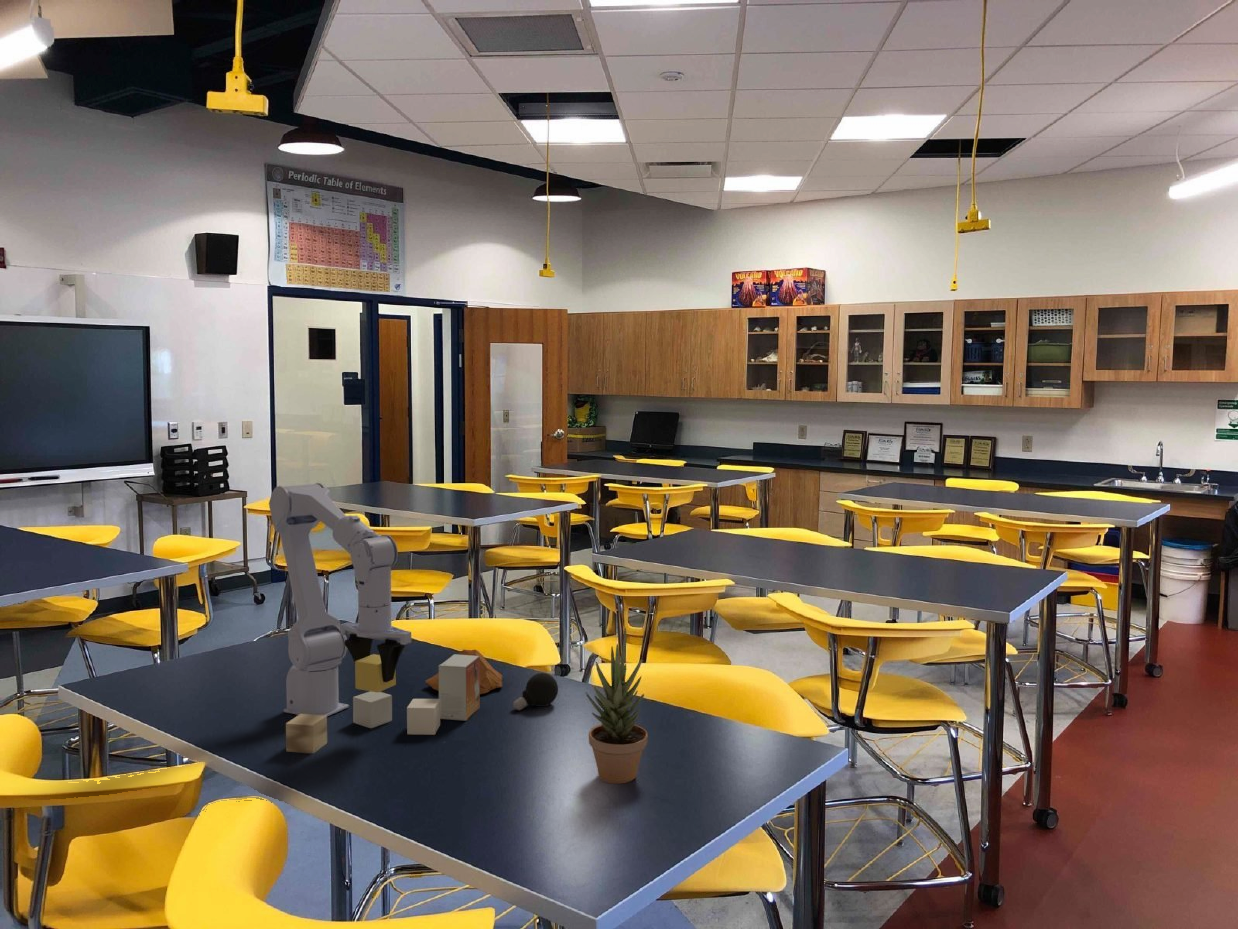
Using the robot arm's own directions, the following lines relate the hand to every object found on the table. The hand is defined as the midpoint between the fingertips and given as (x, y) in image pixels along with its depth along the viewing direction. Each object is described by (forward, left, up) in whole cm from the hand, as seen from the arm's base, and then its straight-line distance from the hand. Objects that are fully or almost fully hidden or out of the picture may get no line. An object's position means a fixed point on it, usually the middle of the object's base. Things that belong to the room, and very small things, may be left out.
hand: (375, 678), depth 171 cm
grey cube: (-5, +5, -10) cm, 13 cm away
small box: (+7, +16, -11) cm, 20 cm away
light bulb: (+18, +26, -11) cm, 34 cm away
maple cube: (-7, -10, -10) cm, 16 cm away
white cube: (+6, +6, -10) cm, 14 cm away
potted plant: (+47, +3, -11) cm, 48 cm away
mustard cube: (0, 0, -2) cm, 2 cm away
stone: (-1, +30, -11) cm, 32 cm away
